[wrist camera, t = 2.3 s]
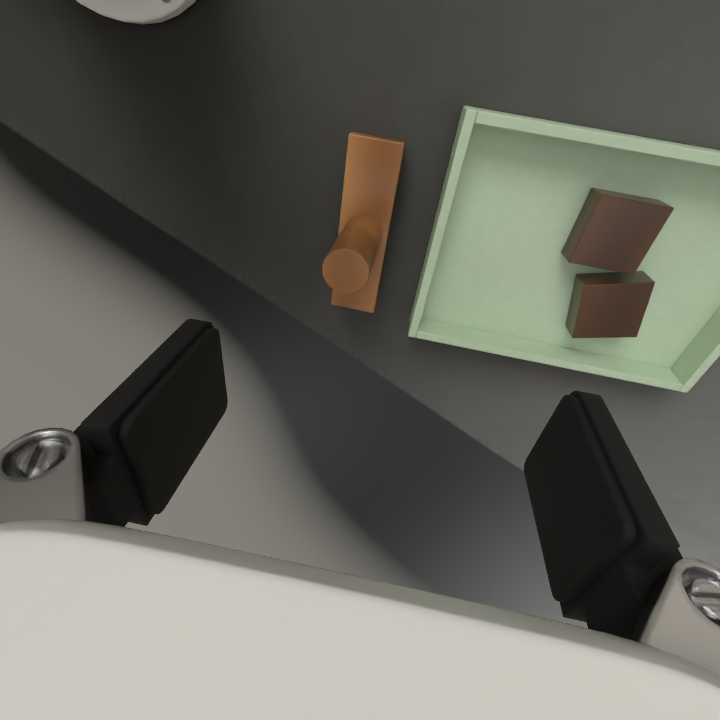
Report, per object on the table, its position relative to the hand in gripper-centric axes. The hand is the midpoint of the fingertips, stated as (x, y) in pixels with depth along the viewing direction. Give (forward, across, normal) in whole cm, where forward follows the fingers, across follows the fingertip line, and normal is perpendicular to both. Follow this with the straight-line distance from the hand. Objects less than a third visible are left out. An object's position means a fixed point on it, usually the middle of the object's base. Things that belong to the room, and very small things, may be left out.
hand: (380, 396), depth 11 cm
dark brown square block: (+18, -12, -1) cm, 22 cm away
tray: (+19, -12, +1) cm, 22 cm away
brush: (+19, +3, +1) cm, 19 cm away
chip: (+18, -14, +4) cm, 23 cm away
